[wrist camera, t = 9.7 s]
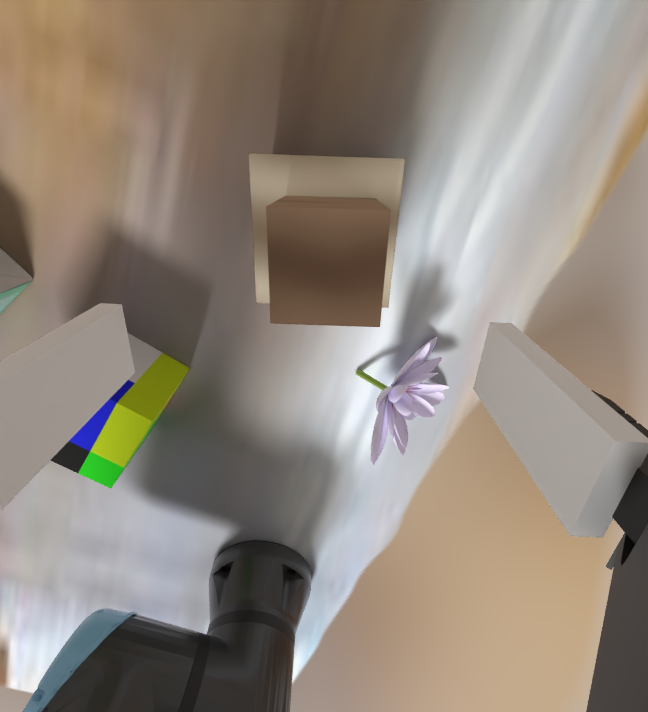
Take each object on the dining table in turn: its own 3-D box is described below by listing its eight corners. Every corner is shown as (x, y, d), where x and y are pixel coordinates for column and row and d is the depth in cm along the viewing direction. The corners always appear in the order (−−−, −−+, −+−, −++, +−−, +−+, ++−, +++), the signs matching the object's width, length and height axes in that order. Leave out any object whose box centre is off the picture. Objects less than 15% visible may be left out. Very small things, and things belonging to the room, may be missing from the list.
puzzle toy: (105, 319, 40) (40, 362, 31) (190, 368, 43) (152, 421, 34) (73, 385, 44) (7, 440, 35) (153, 426, 46) (110, 488, 37)
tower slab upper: (380, 288, 33) (388, 307, 29) (266, 284, 33) (256, 302, 29) (393, 159, 29) (405, 158, 24) (261, 155, 29) (248, 153, 24)
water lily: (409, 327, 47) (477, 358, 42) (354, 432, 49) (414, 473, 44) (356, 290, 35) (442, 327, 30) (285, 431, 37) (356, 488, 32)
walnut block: (368, 286, 28) (379, 327, 21) (287, 283, 28) (270, 323, 21) (375, 198, 25) (391, 210, 18) (285, 195, 25) (265, 206, 18)
